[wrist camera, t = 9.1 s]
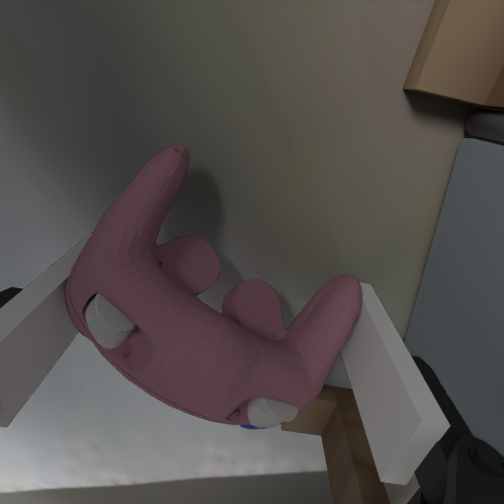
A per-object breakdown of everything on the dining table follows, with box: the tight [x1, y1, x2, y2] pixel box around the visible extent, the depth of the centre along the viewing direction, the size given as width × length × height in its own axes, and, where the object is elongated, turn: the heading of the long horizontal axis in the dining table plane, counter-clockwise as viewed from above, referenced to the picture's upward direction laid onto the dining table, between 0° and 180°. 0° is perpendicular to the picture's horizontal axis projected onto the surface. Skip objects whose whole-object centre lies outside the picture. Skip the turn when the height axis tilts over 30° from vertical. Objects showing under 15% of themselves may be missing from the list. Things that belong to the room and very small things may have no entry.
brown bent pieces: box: [281, 0, 504, 504], centre depth 11 cm, size 6×21×9 cm, turn 168°
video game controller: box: [64, 144, 363, 429], centre depth 11 cm, size 10×5×7 cm, turn 52°
